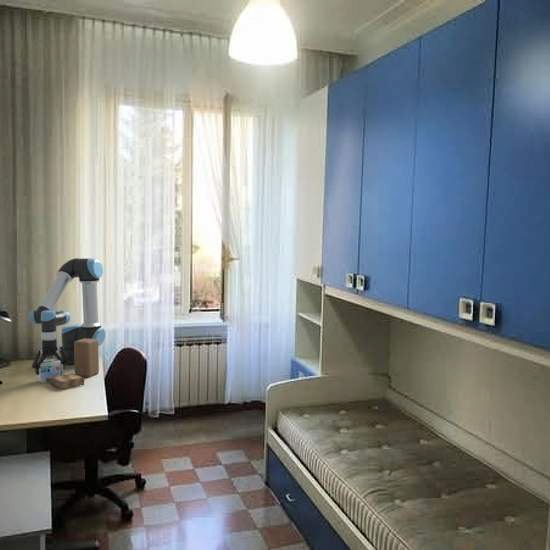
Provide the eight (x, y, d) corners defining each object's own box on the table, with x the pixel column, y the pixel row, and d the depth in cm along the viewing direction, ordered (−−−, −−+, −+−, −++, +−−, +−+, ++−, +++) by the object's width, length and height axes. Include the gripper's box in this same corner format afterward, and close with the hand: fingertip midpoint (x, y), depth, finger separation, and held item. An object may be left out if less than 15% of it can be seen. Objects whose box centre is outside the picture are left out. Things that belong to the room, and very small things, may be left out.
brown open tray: (72, 380, 311) (72, 372, 310) (84, 384, 302) (84, 377, 301) (49, 385, 301) (49, 377, 301) (61, 390, 292) (60, 382, 292)
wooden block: (73, 376, 319) (72, 341, 317) (84, 371, 329) (83, 337, 327) (89, 377, 316) (88, 342, 314) (99, 373, 326) (98, 339, 324)
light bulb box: (40, 383, 305) (39, 363, 304) (39, 380, 311) (38, 360, 310) (61, 380, 309) (61, 361, 308) (60, 377, 315) (59, 358, 314)
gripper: (66, 334, 319) (68, 372, 321) (23, 341, 301) (25, 381, 304) (73, 336, 314) (74, 374, 316) (30, 343, 296) (31, 383, 298)
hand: (50, 377), depth 310 cm, fingers closed on light bulb box, 12 cm apart
